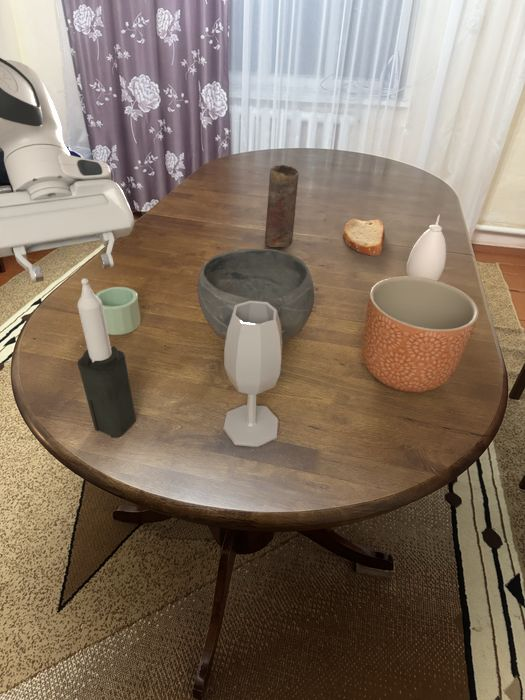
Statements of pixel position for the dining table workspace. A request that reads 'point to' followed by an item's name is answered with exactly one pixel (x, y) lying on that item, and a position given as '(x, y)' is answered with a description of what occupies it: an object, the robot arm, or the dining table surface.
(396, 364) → the planter
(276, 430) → the wineglass
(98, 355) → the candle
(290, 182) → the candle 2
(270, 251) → the bowl
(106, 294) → the holder
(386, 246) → the dining table surface
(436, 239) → the sauce bottle
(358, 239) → the slice of bread
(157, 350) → the dining table surface
